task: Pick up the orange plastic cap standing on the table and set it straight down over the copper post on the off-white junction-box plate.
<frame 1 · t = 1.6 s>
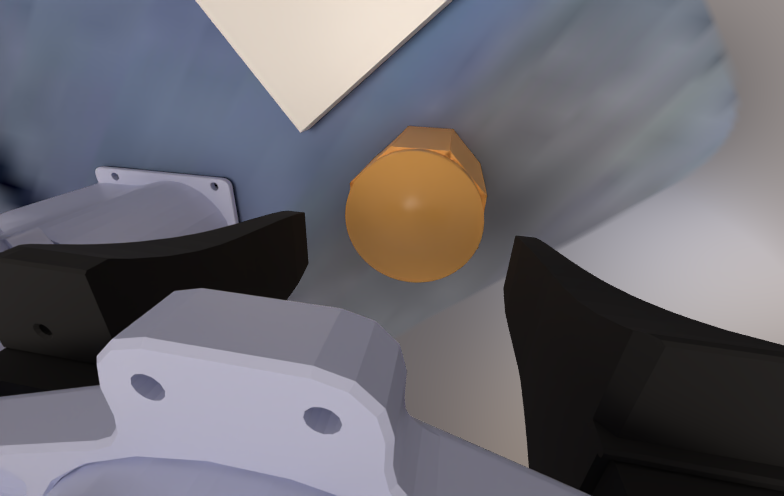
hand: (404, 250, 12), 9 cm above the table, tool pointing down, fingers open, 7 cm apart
cap: (426, 179, 20), on the table
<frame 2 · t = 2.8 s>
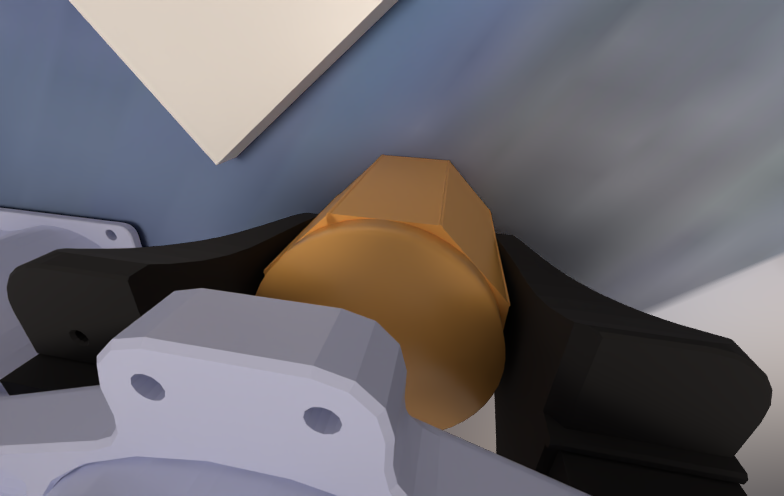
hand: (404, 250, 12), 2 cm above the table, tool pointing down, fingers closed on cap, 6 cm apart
cap: (409, 231, 13), on the table, touching gripper
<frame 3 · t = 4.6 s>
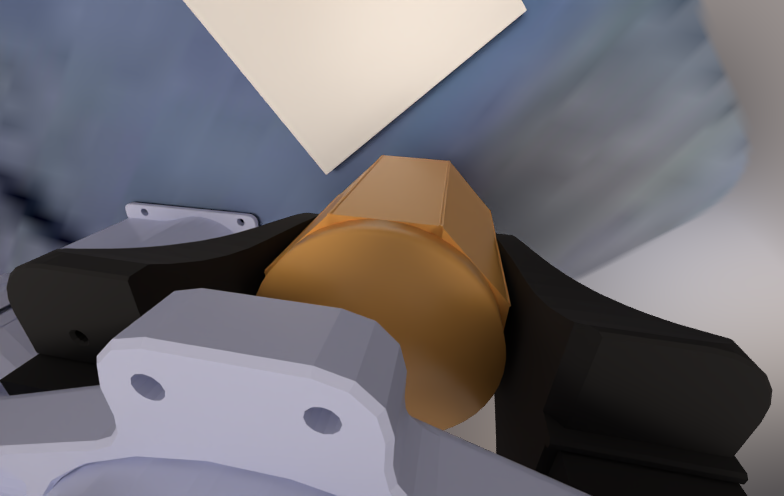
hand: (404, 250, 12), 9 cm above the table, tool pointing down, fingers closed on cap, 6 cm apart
cap: (410, 231, 13), point 7 cm above the table, touching gripper
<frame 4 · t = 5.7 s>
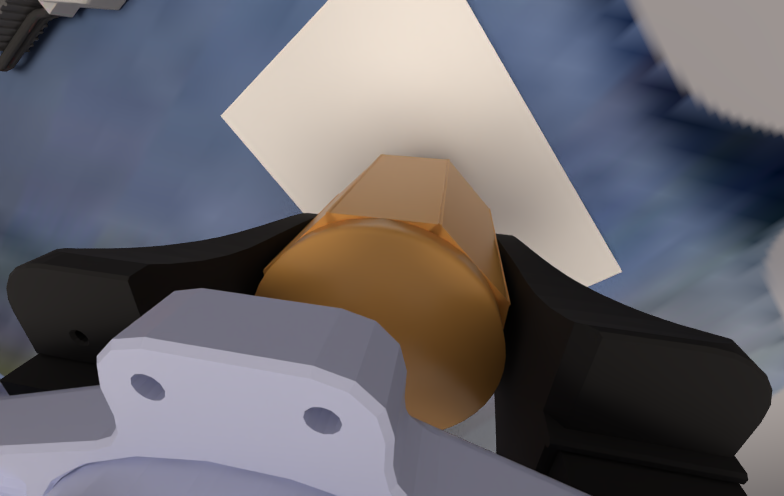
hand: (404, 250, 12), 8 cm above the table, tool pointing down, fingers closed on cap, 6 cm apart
plate: (423, 186, 19), on the table
cap: (409, 230, 13), point 6 cm above the table, touching gripper
when the fingers open (4 cm above the table, at t = 6.9 s): cap stays where it is, resting on plate.
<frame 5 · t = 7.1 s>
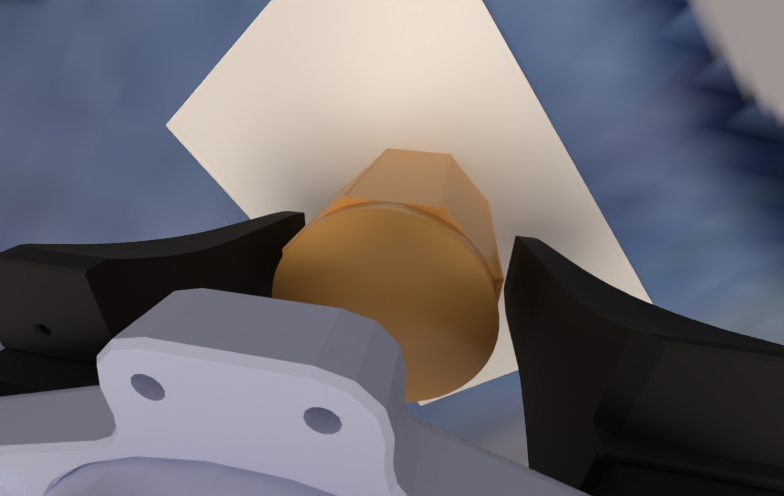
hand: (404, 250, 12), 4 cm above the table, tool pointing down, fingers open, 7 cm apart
plate: (416, 211, 15), on the table
cap: (412, 220, 14), point 1 cm above the table, touching plate
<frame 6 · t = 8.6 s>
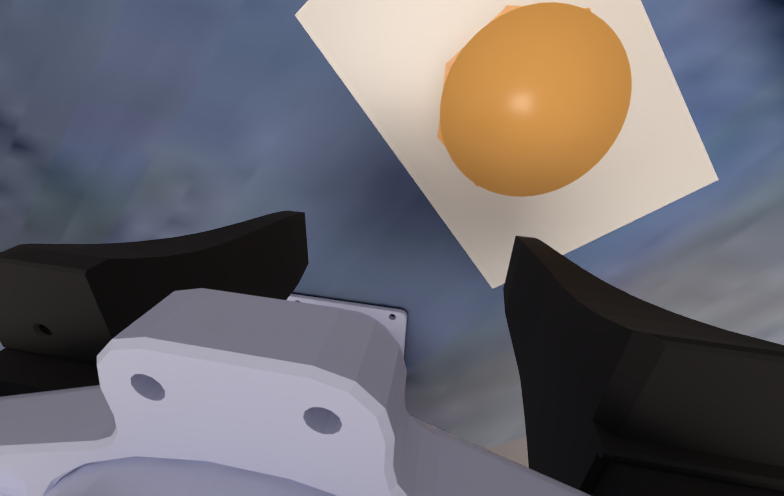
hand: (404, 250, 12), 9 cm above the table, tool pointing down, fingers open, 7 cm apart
plate: (504, 95, 18), on the table
cap: (506, 96, 17), point 1 cm above the table, touching plate
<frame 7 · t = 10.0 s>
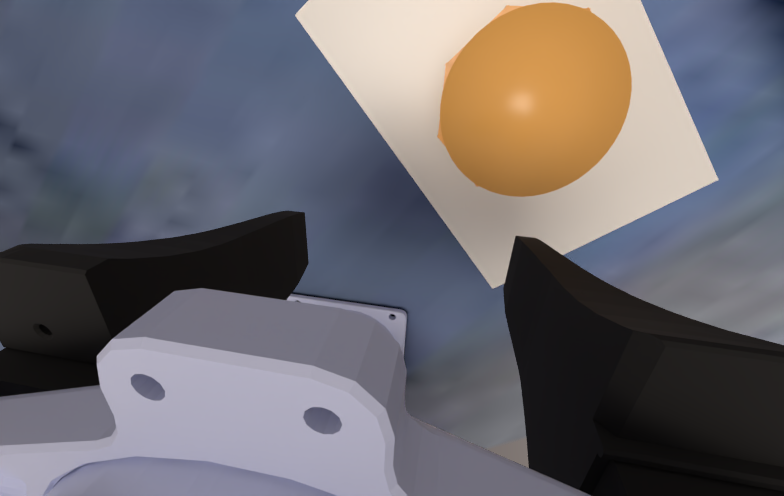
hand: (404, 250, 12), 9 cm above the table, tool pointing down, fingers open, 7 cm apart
plate: (504, 95, 18), on the table
cap: (506, 97, 17), point 1 cm above the table, touching plate
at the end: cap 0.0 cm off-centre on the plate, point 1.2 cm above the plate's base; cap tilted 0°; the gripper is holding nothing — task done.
